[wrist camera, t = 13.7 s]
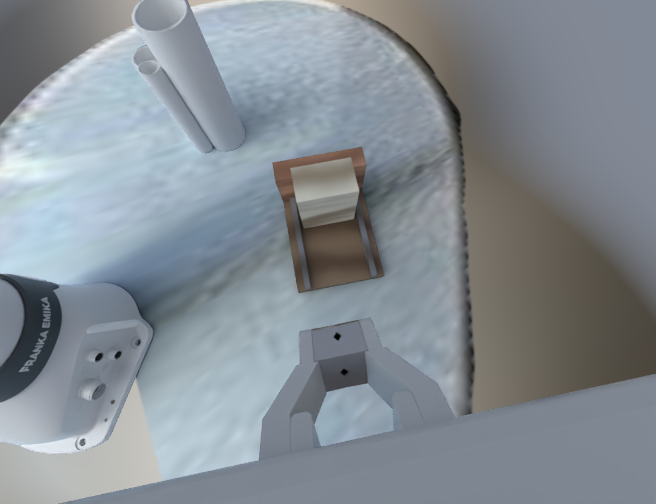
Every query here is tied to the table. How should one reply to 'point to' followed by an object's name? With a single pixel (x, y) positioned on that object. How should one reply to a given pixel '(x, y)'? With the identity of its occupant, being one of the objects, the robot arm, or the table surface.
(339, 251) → the track
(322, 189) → the cream rectangular block
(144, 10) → the vase
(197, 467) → the table surface
